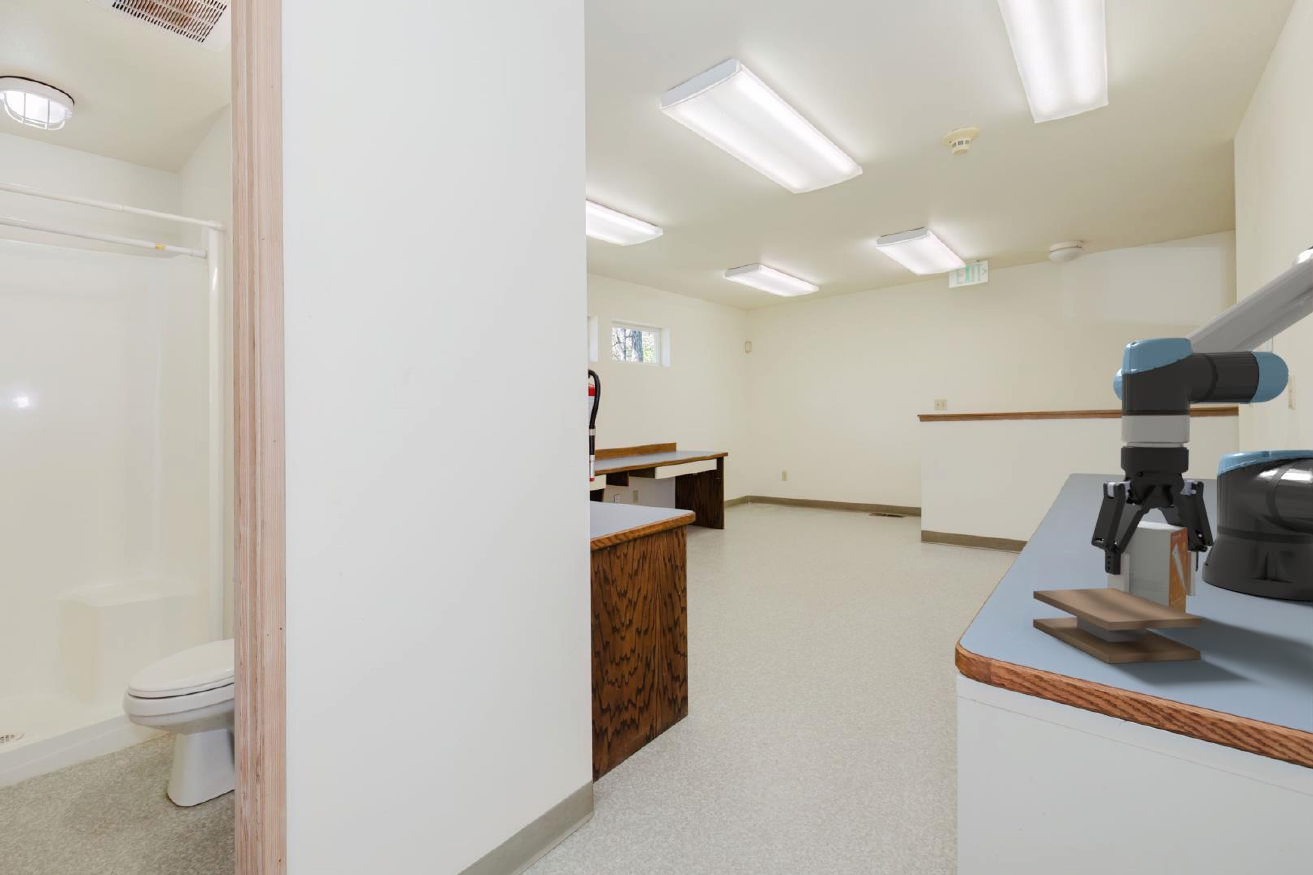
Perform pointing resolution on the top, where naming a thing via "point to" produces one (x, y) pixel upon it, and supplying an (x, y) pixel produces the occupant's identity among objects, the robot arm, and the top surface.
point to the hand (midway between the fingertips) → (1150, 594)
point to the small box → (1159, 563)
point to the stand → (1116, 625)
